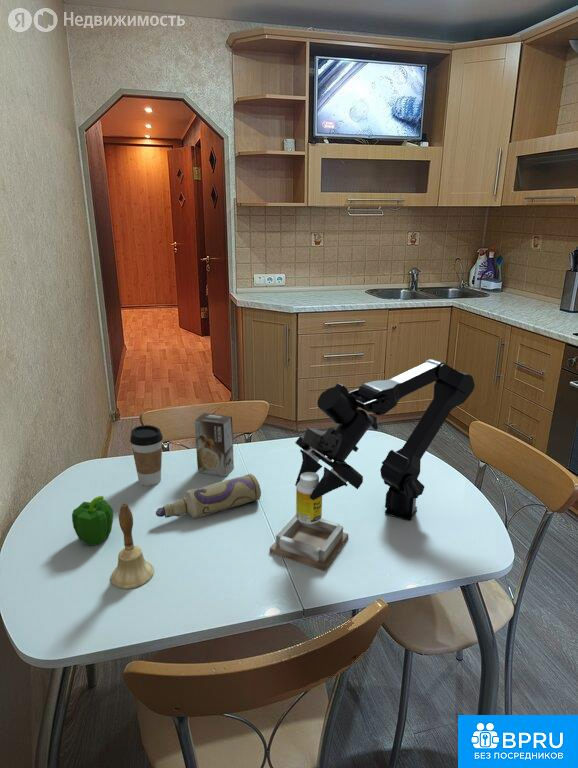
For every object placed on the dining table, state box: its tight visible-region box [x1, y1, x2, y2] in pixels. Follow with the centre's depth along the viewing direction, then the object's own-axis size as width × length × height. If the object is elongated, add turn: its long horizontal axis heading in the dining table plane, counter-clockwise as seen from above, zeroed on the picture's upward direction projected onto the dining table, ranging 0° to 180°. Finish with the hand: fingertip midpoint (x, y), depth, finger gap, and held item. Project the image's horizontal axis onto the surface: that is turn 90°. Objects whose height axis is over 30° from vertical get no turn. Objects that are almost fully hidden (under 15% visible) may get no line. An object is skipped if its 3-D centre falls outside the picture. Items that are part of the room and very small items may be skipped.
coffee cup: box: [129, 424, 164, 487], centre depth 134 cm, size 8×8×15 cm
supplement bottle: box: [295, 472, 323, 524], centre depth 106 cm, size 6×6×10 cm
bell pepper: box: [71, 495, 114, 546], centre depth 109 cm, size 8×8×10 cm
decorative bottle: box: [155, 473, 262, 518], centre depth 122 cm, size 26×8×7 cm, turn 119°
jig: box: [269, 514, 349, 572], centre depth 109 cm, size 13×13×4 cm
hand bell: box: [110, 502, 155, 590], centre depth 97 cm, size 8×8×16 cm
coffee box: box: [194, 412, 235, 477], centre depth 140 cm, size 9×6×16 cm
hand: (303, 492), depth 105 cm, fingers closed on supplement bottle, 6 cm apart
